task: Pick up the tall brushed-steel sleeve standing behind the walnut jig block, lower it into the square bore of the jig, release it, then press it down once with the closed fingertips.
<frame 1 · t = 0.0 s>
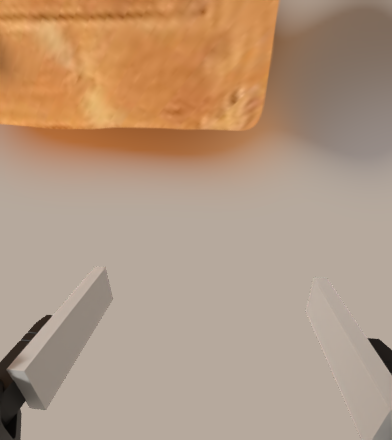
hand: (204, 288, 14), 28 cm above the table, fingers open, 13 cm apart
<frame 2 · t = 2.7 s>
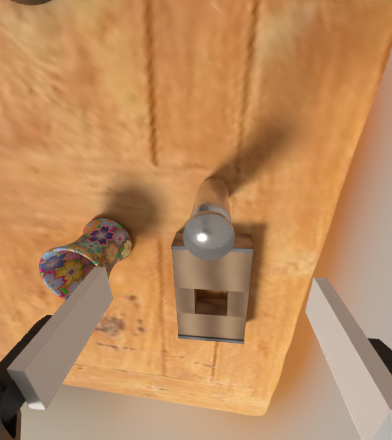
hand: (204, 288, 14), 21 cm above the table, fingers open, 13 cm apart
floral flared cup: (111, 244, 39), on the table
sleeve: (213, 192, 33), on the table
jig: (212, 282, 40), on the table
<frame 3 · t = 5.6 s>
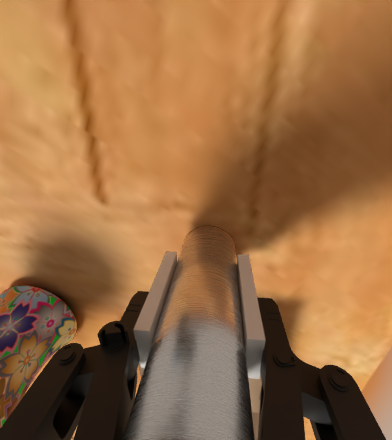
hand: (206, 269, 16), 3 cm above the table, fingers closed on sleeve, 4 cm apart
floral flared cup: (48, 318, 25), on the table
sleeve: (208, 249, 18), on the table, touching gripper
jig: (208, 374, 26), on the table
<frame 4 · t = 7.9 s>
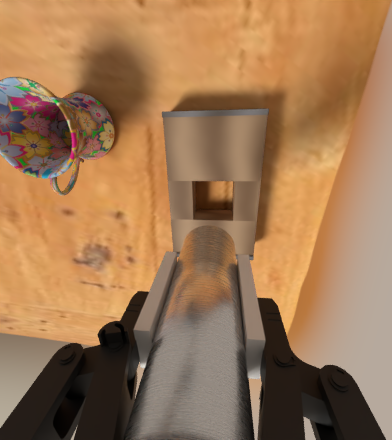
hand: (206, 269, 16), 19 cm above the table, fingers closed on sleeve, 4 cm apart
floral flared cup: (90, 137, 32), on the table
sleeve: (208, 248, 19), point 16 cm above the table, touching gripper
jig: (214, 185, 33), on the table
when the fingers open (5 cm above the table, at t = 10.6 s): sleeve drops 2 cm, resting in jig.
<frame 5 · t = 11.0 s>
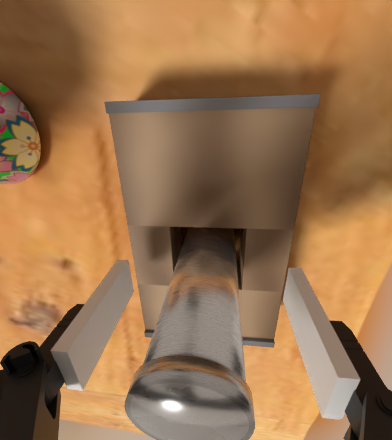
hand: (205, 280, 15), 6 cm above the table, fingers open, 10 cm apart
floral flared cup: (7, 148, 20), on the table
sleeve: (210, 235, 21), resting in jig
jig: (210, 225, 20), on the table
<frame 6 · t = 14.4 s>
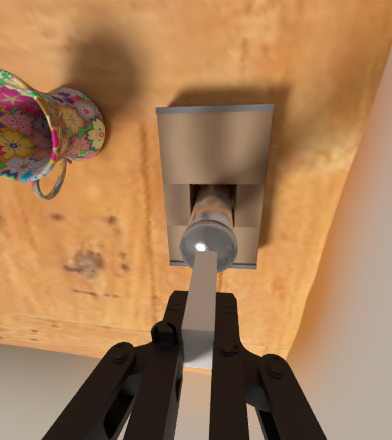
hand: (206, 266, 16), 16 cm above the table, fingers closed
floral flared cup: (79, 136, 30), on the table
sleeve: (214, 195, 31), resting in jig
jig: (213, 188, 30), on the table
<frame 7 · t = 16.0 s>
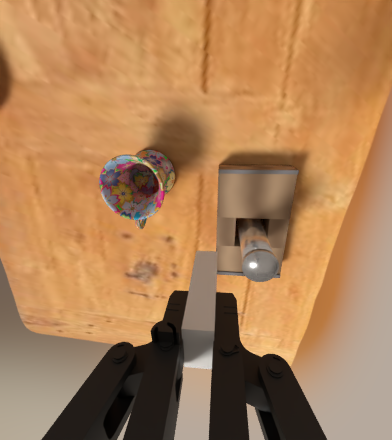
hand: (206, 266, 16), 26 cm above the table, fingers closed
floral flared cup: (153, 180, 41), on the table
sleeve: (249, 223, 42), resting in jig
jig: (249, 218, 42), on the table
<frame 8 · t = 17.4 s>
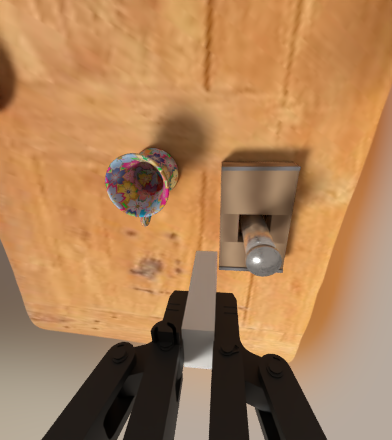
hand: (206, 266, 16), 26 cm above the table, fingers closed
floral flared cup: (157, 178, 42), on the table
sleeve: (251, 219, 43), resting in jig
jig: (251, 214, 42), on the table
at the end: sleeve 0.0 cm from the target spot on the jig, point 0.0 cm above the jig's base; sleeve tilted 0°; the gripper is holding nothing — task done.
